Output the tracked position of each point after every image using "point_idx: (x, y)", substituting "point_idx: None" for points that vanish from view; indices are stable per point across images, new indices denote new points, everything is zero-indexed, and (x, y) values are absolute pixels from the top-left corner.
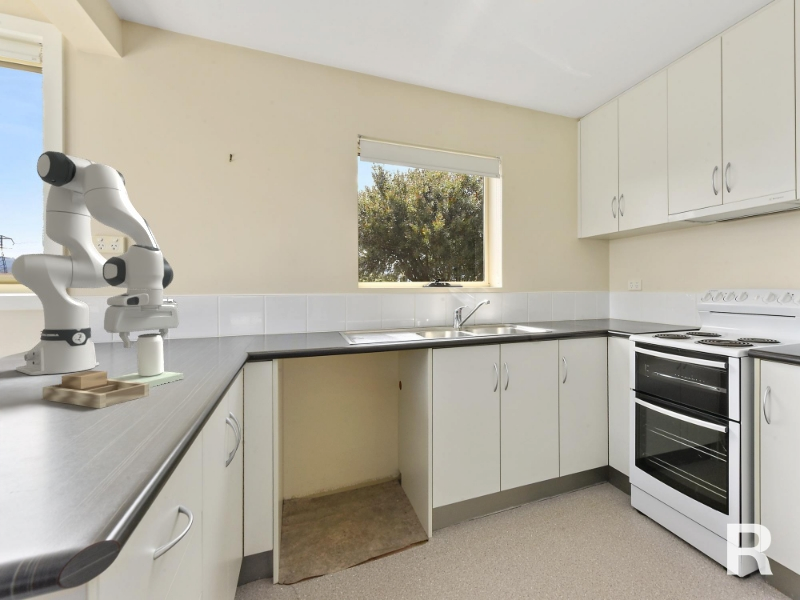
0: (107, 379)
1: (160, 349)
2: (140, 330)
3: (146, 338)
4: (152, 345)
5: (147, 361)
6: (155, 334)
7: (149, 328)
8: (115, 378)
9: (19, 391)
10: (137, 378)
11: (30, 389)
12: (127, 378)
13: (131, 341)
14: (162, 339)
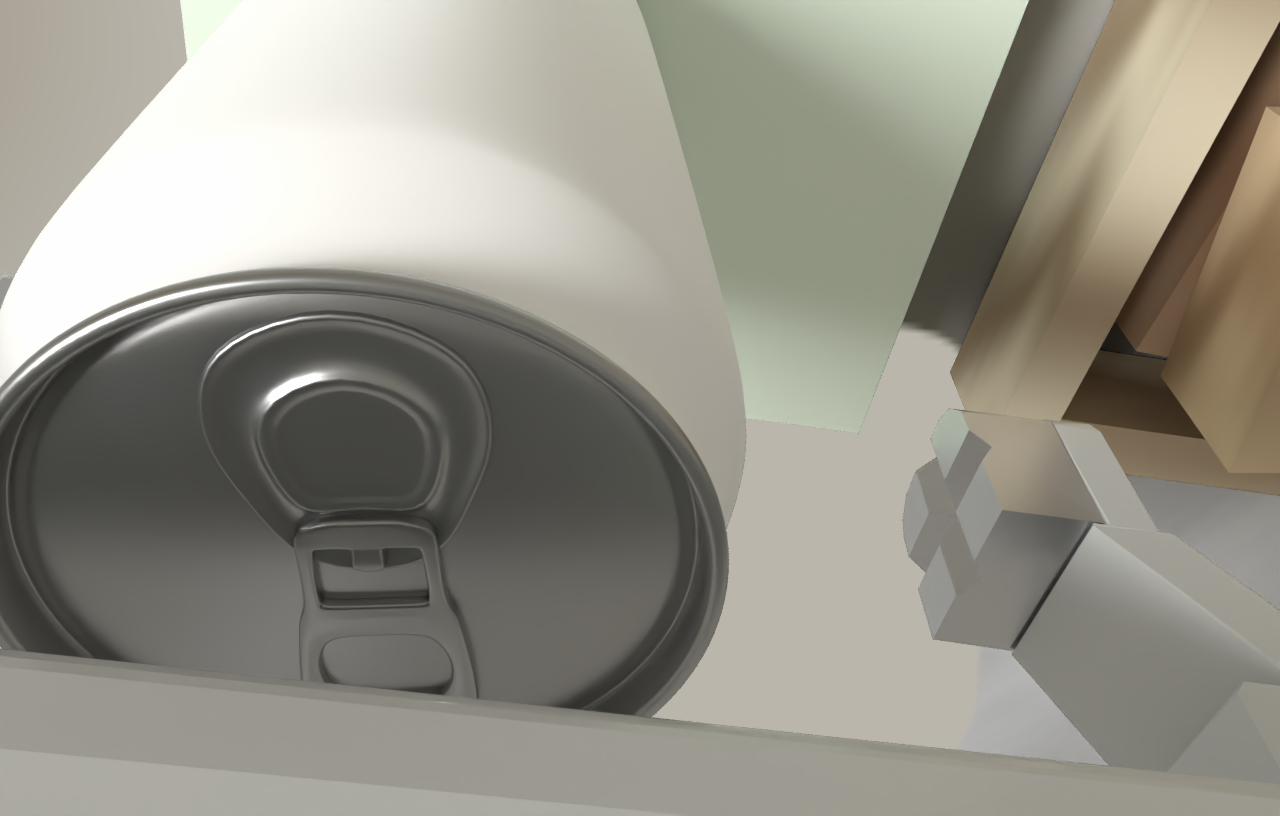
0: (1138, 212)
1: (335, 4)
2: (957, 755)
3: (674, 413)
4: (579, 131)
5: (648, 64)
6: (47, 622)
7: (499, 758)
8: (791, 342)
9: (1059, 746)
10: (754, 55)
11: (998, 738)
12: (774, 199)
13: (1052, 519)
14: (49, 224)
